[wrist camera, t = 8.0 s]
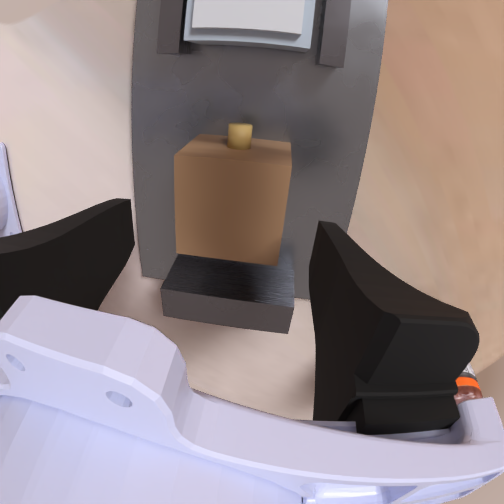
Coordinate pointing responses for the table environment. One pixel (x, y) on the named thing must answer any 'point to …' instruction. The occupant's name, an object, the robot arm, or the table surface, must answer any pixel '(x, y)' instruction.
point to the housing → (232, 196)
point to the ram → (251, 23)
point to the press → (263, 127)
